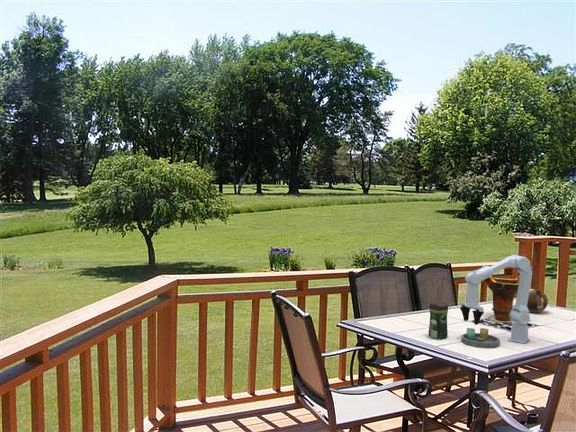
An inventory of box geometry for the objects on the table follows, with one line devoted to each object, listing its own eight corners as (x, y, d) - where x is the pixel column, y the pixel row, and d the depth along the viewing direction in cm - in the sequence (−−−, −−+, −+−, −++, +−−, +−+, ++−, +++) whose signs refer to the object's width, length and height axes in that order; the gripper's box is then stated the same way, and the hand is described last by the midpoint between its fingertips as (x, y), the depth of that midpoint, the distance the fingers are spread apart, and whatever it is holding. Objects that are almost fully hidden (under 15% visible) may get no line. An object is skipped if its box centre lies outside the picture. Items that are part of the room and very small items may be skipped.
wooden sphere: (520, 308, 350) (521, 286, 349) (545, 311, 345) (546, 288, 345) (522, 313, 336) (523, 290, 335) (548, 316, 331) (550, 292, 330)
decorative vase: (529, 324, 306) (528, 276, 305) (486, 324, 311) (486, 276, 310) (520, 316, 327) (520, 271, 326) (481, 315, 331) (480, 271, 330)
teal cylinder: (468, 337, 276) (468, 327, 275) (475, 338, 273) (476, 329, 273) (465, 338, 273) (465, 329, 272) (472, 340, 270) (473, 330, 270)
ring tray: (469, 335, 282) (469, 331, 282) (504, 342, 270) (504, 337, 270) (455, 342, 269) (455, 337, 268) (491, 350, 257) (491, 345, 257)
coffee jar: (437, 334, 284) (439, 299, 283) (449, 337, 278) (451, 302, 277) (425, 336, 279) (426, 301, 278) (437, 340, 272) (438, 304, 271)
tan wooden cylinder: (481, 337, 276) (482, 327, 276) (489, 338, 273) (489, 329, 273) (478, 338, 273) (478, 329, 273) (486, 340, 270) (486, 330, 270)
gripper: (456, 293, 277) (455, 319, 277) (476, 299, 263) (474, 326, 264) (467, 293, 279) (466, 318, 280) (487, 298, 266) (486, 325, 267)
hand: (471, 322), depth 272 cm, fingers open, 7 cm apart
